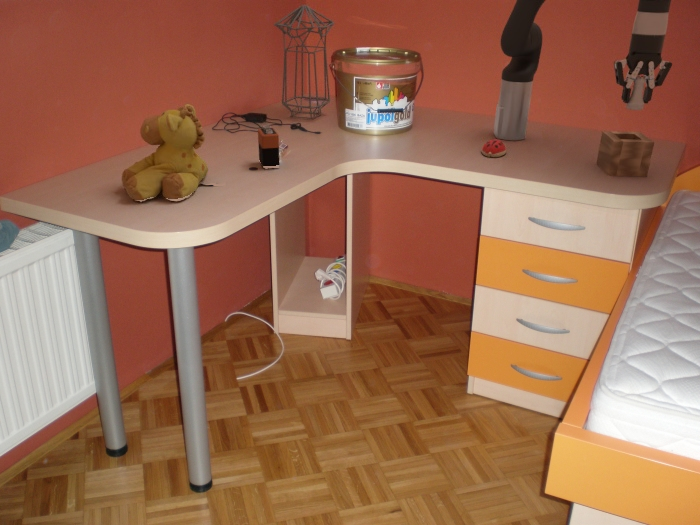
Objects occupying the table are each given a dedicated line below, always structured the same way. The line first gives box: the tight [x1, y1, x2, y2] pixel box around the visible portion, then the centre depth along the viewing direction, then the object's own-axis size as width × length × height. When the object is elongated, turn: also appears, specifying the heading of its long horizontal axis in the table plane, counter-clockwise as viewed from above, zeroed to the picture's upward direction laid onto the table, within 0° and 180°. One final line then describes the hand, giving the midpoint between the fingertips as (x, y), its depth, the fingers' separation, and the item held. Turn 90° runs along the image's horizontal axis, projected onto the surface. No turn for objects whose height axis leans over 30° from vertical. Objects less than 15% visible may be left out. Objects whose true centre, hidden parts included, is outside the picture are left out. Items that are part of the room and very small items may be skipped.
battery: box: [257, 124, 280, 166], centre depth 171 cm, size 4×7×10 cm, turn 17°
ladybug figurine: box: [481, 138, 507, 158], centre depth 186 cm, size 7×10×4 cm
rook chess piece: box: [625, 75, 647, 111], centre depth 166 cm, size 4×4×8 cm
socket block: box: [595, 130, 655, 177], centre depth 173 cm, size 10×10×9 cm
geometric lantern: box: [273, 4, 335, 120], centre depth 213 cm, size 16×16×35 cm
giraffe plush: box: [121, 103, 209, 201], centre depth 152 cm, size 20×24×19 cm
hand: (635, 102), depth 167 cm, fingers closed on rook chess piece, 4 cm apart
